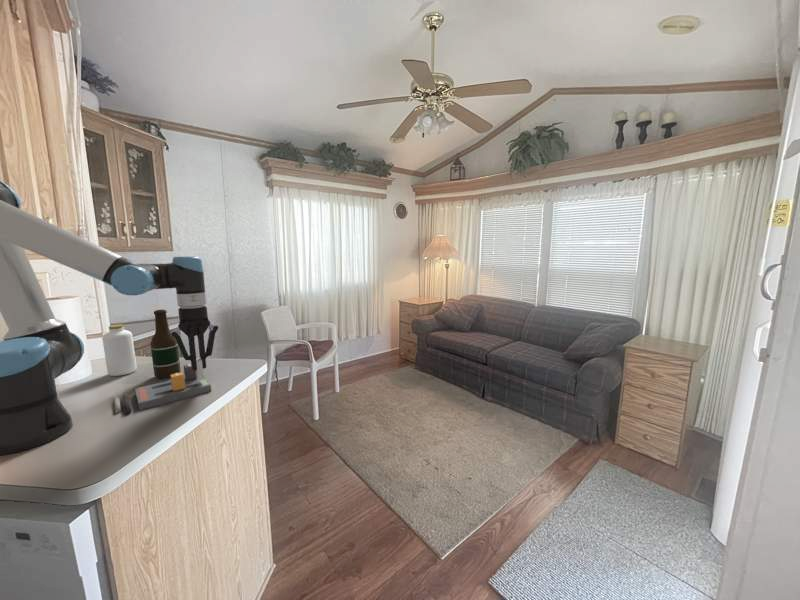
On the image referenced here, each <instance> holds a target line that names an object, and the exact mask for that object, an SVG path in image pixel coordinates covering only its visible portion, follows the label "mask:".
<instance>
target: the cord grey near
mask: <svg viewBox="0 0 800 600" xmlns="http://www.w3.org/2000/svg"><path fill="white" fill-rule="evenodd" d="M113 401H114V402H113V403H114V412H115V413H117V414H119V413H121V412H122V409H121V399H120V397H118V396H117V397H115V398H114V399H113Z"/></svg>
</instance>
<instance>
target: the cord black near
mask: <svg viewBox="0 0 800 600" xmlns="http://www.w3.org/2000/svg"><path fill="white" fill-rule="evenodd" d="M122 403H123V405H122V406H123V411H124V414H125V415H130V414H131V413H132V409H131V407H132V406H131V402H130V397H129V396H128V395H123V396H122Z"/></svg>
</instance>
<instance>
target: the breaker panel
mask: <svg viewBox="0 0 800 600" xmlns="http://www.w3.org/2000/svg"><path fill="white" fill-rule="evenodd" d="M184 381H185V388H184V389H180V390H176V391H173V389H172V384H171V379H170V380H166V381H162V382H157V383H154V384H149V385H144V386H140V387H136V388H134V393H135V397H136V402H137V405H138V408H139V409H138V410H139V411H140V410H144V409H147V408H153V407H155V406H161V405H164V404H167V403H172V402H176V401H177V400H182V399H185V398H186V399H187V398H190V397H194V396H197V395H201V394H207V393H209V392H212V386H211V385H212V384H211V383H209V381H208V380H207V379H206V378H205V377H204V380H200V381H198V379H197V378H196V379H191V380H186V379H185V376H184Z"/></svg>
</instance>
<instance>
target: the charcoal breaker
mask: <svg viewBox="0 0 800 600" xmlns="http://www.w3.org/2000/svg"><path fill="white" fill-rule="evenodd" d="M183 374H184V377H185V379H186V380H191V379H196V378H197V376H196V370H195V371H193V369H192V366H191V363H188V364H183Z"/></svg>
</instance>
